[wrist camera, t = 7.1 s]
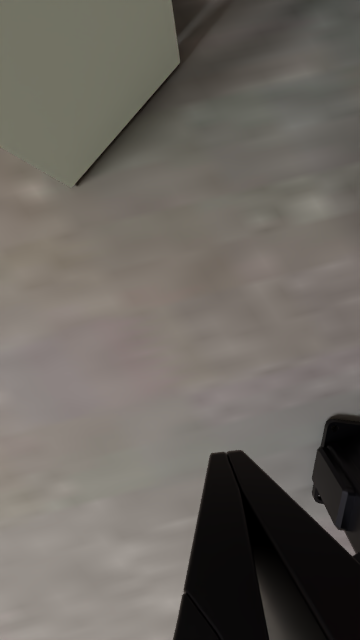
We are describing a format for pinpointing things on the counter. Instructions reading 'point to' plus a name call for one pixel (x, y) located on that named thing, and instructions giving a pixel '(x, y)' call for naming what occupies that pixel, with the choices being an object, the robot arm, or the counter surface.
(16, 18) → the door
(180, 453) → the counter surface
